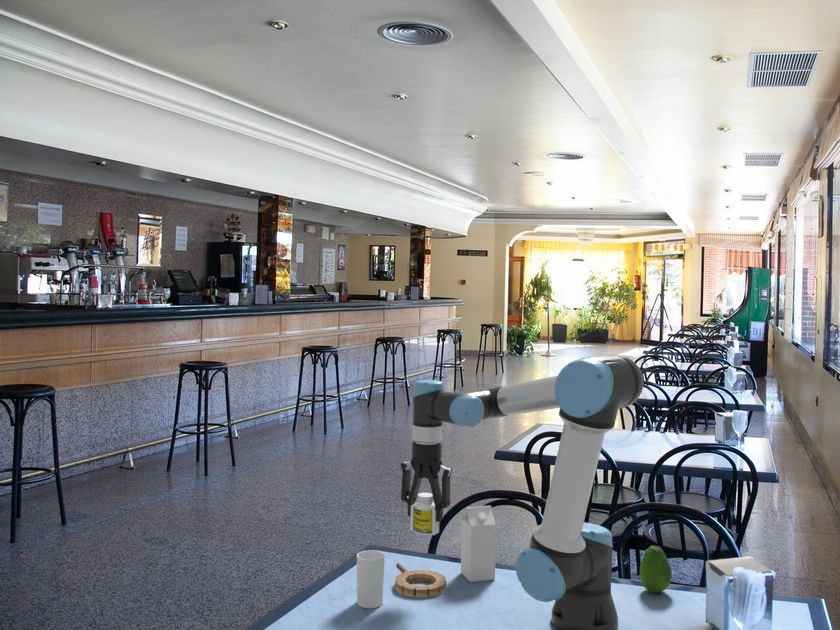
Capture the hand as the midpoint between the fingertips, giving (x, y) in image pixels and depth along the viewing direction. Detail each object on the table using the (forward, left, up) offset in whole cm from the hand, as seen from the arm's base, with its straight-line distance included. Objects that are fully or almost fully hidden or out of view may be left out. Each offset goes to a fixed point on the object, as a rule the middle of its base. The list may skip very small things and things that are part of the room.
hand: (424, 531), depth 195 cm
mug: (+8, +12, -16) cm, 21 cm away
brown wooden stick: (+11, -9, -15) cm, 21 cm away
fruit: (-52, -29, -16) cm, 62 cm away
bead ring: (+2, -2, -15) cm, 16 cm away
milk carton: (-8, -16, -16) cm, 24 cm away
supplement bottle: (0, 0, -1) cm, 1 cm away
